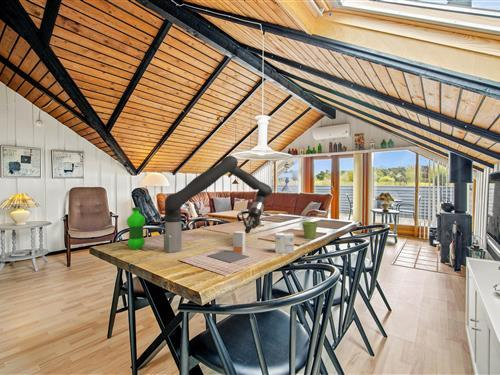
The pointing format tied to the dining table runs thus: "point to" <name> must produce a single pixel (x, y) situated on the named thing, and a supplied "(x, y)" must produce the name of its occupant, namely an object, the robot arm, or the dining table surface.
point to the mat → (228, 256)
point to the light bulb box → (284, 243)
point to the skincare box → (239, 242)
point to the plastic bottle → (136, 229)
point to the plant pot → (309, 229)
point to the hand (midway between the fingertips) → (246, 232)
